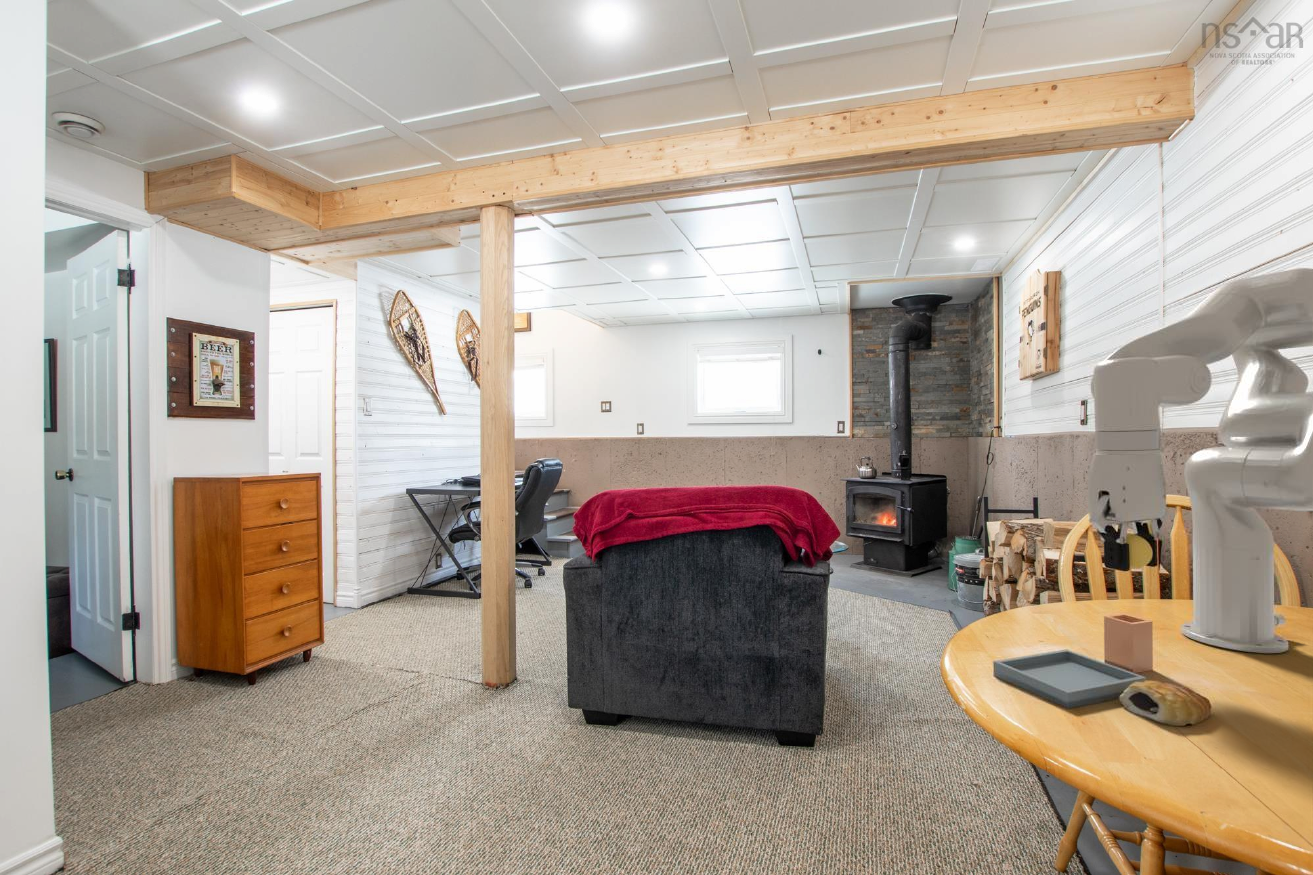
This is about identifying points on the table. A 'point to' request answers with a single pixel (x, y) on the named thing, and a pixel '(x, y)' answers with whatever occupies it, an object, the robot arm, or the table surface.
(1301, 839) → the table surface
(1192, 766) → the table surface
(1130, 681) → the tray
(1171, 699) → the pastry
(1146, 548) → the ball
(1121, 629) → the open box
